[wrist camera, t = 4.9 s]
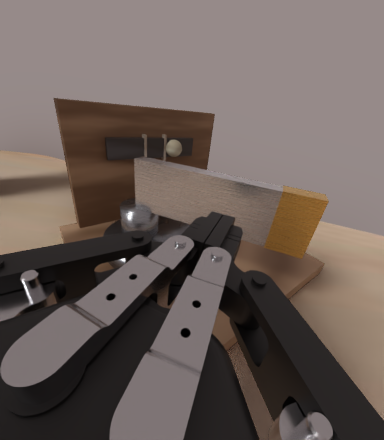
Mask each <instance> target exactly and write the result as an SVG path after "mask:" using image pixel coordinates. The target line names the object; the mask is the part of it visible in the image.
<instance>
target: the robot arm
mask: <svg viewBox="0 0 384 440" xmlns="http://www.w3.org/2000/svg"><path fill="white" fill-rule="evenodd" d="M234 223H235V217H232V216H228V215H223V214H221V213H217V212H214V211H211V213H210V214H209V215H208V216H207V217H203V216H201V217H198V218H196V219H195V220H194V221H193V222H192V223H191V224H190V225H189V227H188V228H187V229H186V230H185V231H184V232H183V233H182V234H181V235H176V236H172V237H170V238H169V239H167V240H166V241H165V242H155V241H152V236H151V235H150V234H149V233H148V232H146V231H141V230H136V231H130V232H124V233H119V234H113V235H108V236H103V237H97V238H92V239H86V240H81V241H75V242H70V243H64V244H59V245H53V246H48V247H42V248H37V249H31V250H26V251H20V252H15V253H9V254H4V255H0V440H259V437H258V434H257V432H256V429H255V426H254V423H253V420H252V418H251V415H250V412H249V409H248V406H247V404H246V401H245V398H244V395H243V392H242V390H241V387H240V384H239V381H238V378H237V376H236V373H235V370H234V367H233V364H232V362H231V359H230V357H229V355H228V353H227V351H226V349H225V348H224V346H223V345H222V343H221V342H220V341H219V340H218V339H217V338H216V337H215V336H214V335H213V334H212V332H213V328H214V324H215V320H216V317H217V313H218V309H220V310H221V311H222V312H223V313H225V314H226V315H227V316H228V317H230V318H229V322H230V325H231V328H232V330H233V332H234V334H235V337H236V339H237V341H238V343H239V345H240V348H241V350H242V352H243V354H244V357H245V359H246V361H247V363H248V365H249V368H250V370H251V372H252V374H253V377H254V379H255V381H256V383H257V386H258V388H259V390H260V392H261V394H262V397H263V399H264V401H265V403H266V406H267V408H268V410H269V412H270V414H271V417H272V419H273V421H274V422H273V424H272V425H271V427H270V429H269V433H268V440H384V420H383V419H382V418H381V417H380V415H379V414H378V413H377V411H376V410H375V409H374V408H373V406H372V405H371V404H370V403H369V401H368V400H367V399H366V397H365V396H364V395H363V394H362V392H361V391H360V390H359V389H358V387H357V386H356V385H355V384H354V382H353V381H352V380H351V378H350V377H349V376H348V375H347V373H346V372H345V371H344V370H343V368H342V367H341V366H340V364H339V363H338V362H337V361H336V359H335V358H334V357H333V356H332V354H331V353H330V352H329V351H328V349H327V348H326V347H325V345H324V344H323V343H322V342H321V340H320V339H319V338H318V337H317V335H316V334H315V333H314V331H313V330H312V329H311V328H310V326H309V325H308V324H307V323H306V321H305V320H304V319H303V318H302V316H301V315H300V314H299V312H298V311H297V310H296V309H295V307H294V306H293V305H292V304H291V302H290V301H289V300H288V298H287V297H286V296H285V295H284V293H283V292H282V291H281V290H280V288H279V287H278V286H277V285H276V283H275V282H274V281H273V280H272V278H271V277H269V276H268V275H267V274H265V273H263V272H260V271H257V270H249V271H246V272H243V271H242V270H240V269H239V268H238V267H237V266H236V265H235V263H234V262H235V259H236V256H237V254H238V250H239V247H240V243H241V239H242V235H243V231H242V228H241V227H238V226H234ZM124 258H125V264H124V265H123V266H122V267H119V268H115V269H111V270H107V271H103V272H96V271H94V270H95V268H96V267H97V266H98V265H100V264H103V263H107V262H111V261H115V260H119V259H124Z"/></svg>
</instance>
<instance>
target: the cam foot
mask: <svg viewBox="0 0 384 440" xmlns="http://www.w3.org/2000/svg"><path fill="white" fill-rule="evenodd" d="M134 171H135V198H131V199H127V200H125V201H123V202H122V203H121V204H120V218H121V219H119V220H117V221H115V222H114V223H112V224H111V225H110V226H109V227H108V228H107V229H106V231H105V232H104V235H103V236H108V235H113V234H119V233H124V232H130V231H136V230H141V231H146V232H148V233H149V234H150V235H151V236H152V241H155V242H165V241H166V240H167V239H169V238H170V237H172V236H176V235H181V234H182V233H183V232H184V231H185V230H186V229H187V228H188V227H189V224H191V223H192V222H193V221H194V220H195V219H196V218H198V217H201V216H203V217H207V216H208V215H209V214H210V213H211V211H214V212H217V213H221V214H223V215H228V216H232V217H235V223H234V226H238V227H241V228H242V231H243V235H242V239H241V240H243V241H247V242H250V243H253V244H256V245H260V246H263V247H264V248H267V249H270V250H273V251H277V252H280V253H283V254H287V255H290V256H293V257H296V258H300V259H302V258H303V256H304V253H305V251H306V249H307V247H308V245H309V243H310V241H311V238H312V236H313V234H314V232H315V230H316V228H317V225H318V223H319V221H320V219H321V217H322V215H323V212H324V210H325V208H326V206H327V204H328V199H327V197H326V195H325V194H320V193H316V192H311V191H306V190H301V189H297V188H292V187H288V186H279V185H274V184H270V183H265V182H260V181H256V180H251V179H246V178H241V177H237V176H232V175H228V174H223V173H219V172H214V171H209V170H205V169H200V168H195V167H191V166H186V165H181V164H177V163H172V162H167V161H163V160H158V159H153V158H149V157H144V156H142V157H138V158H135V159H134ZM108 263H109V264H110V265H111V266H112V267H113V268H119V267H122V266H123V265H124V264H125V258H124V259H119V260H115V261H111V262H108Z"/></svg>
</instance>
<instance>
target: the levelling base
mask: <svg viewBox="0 0 384 440" xmlns="http://www.w3.org/2000/svg"><path fill="white" fill-rule="evenodd" d="M54 102H55V108H56V113H57V118H58V123H59V129H60V134H61V140H62V145H63V150H64V155H65V161H66V166H67V171H68V177H69V182H70V187H71V193H72V198H73V203H74V208H75V214H76V219H77V223H74V224H70V225H65V226H60V231H61V235H62V239H63V241H64V243H70V242H75V241H81V240H86V239H92V238H97V237H103V235H104V232H105V231H106V229H107V228H108V227H109V226H110V225H111V224H112V223H114V222H115V221H117V220H119V219H121V218H120V204H121V203H122V202H123V201H125V200H127V199H131V198H135V171H134V159H135V158H138V157H142V156H144V157H149V158H153V159H158V160H163V161H167V162H172V163H177V164H181V165H186V166H191V167H195V168H200V169H205V170H207V165H208V158H209V151H210V144H211V137H212V130H213V123H214V116H215V115H214V114H211V113H203V112H193V111H182V110H172V109H161V108H151V107H141V106H130V105H119V104H109V103H99V102H89V101H79V100H67V99H58V98H54ZM189 225H190V224H189ZM234 263H235V265H236V266H237V267H238V268H239V269H240V270H242V271H243V272H246V271H249V270H257V271H260V272H263V273H265V274H267V275H268V276H269V277H271V278H272V280H273V281H274V282H275V283H276V285H277V286H278V287H279V288H280V290H281V291H282V292H283V293H284V295H285V296H286V297H287V298H288V299H289V298H290V297H291V296H293V295H294V294H295V293H296V292H297V291H299V290H300V289H301V288H302V287H303V286H305V285H306V284H307V283H308V282H309V281H311V280H312V279H313V278H314V277H315V276H317V275H318V274H319V273H320V271H321V269H322V267H323V266H324V263H323V262H321V261H319V260H317V259H315V258H314V257H312V256H310V255H308V254H307V253H304V256H303V258H302V259H300V258H296V257H293V256H290V255H287V254H283V253H280V252H277V251H273V250H270V249H267V248H264V247H263V246H260V245H256V244H253V243H250V242H247V241H243V240H241V243H240V247H239V250H238V254H237V256H236V259H235V262H234ZM111 269H115V268H113V267H112V266H111V265H110V264H109V263H108V262H107V263H103V264H100V265H98V266H97V267H96V268H95V270H94V271H96V272H103V271H107V270H111ZM229 318H230V317H228V316H227V315H226V314H225V313H223V312H222V311H221V310H220V309H218V313H217V317H216V320H215V324H214V328H213V332H212V334H213V335H214V336H215V337H216V338H217V339H218V340H219V341H220V342H221V343H222V345H223V346H224V348H225V349H226V351H227V350H228V349H229V348H230V347H232V346H233V345H234V344H235V343H236V342H238V341H237V339H236V337H235V334H234V332H233V330H232V328H231V325H230V322H229Z"/></svg>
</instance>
